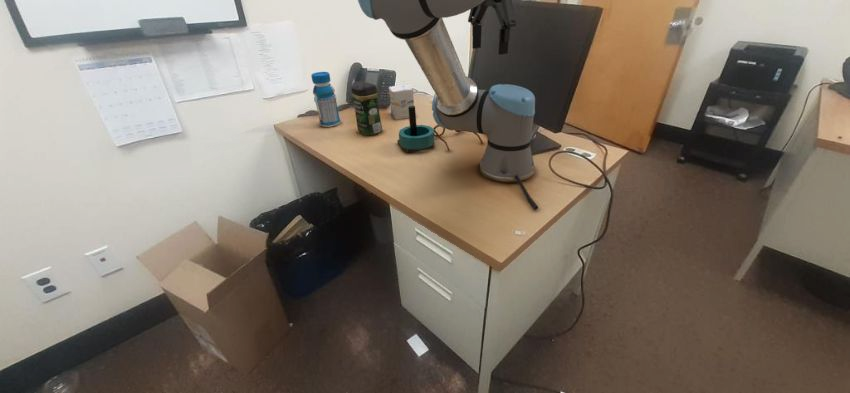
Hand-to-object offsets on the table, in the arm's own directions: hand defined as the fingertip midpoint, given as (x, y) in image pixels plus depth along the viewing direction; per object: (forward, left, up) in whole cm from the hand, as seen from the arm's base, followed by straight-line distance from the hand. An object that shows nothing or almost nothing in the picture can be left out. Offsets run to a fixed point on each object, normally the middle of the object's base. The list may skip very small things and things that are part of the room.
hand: (489, 50), depth 105 cm
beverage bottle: (+48, +43, -29) cm, 71 cm away
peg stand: (+9, +23, -29) cm, 38 cm away
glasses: (+4, +9, -29) cm, 31 cm away
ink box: (+40, +14, -29) cm, 51 cm away
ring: (+8, +22, -27) cm, 36 cm away
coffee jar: (+30, +32, -29) cm, 53 cm away
